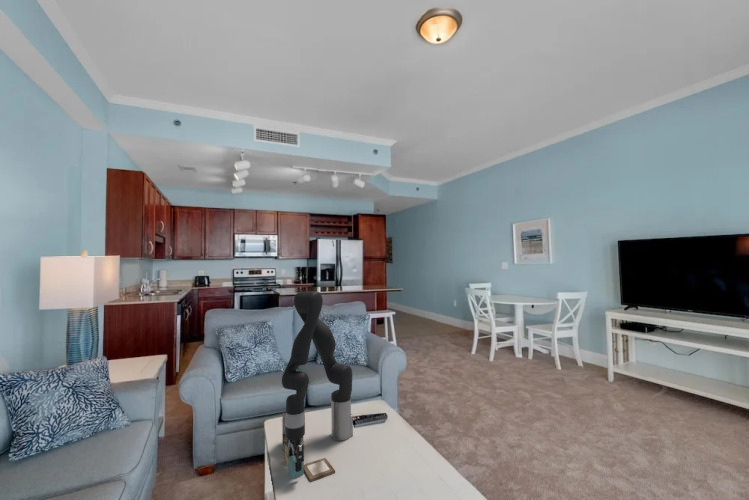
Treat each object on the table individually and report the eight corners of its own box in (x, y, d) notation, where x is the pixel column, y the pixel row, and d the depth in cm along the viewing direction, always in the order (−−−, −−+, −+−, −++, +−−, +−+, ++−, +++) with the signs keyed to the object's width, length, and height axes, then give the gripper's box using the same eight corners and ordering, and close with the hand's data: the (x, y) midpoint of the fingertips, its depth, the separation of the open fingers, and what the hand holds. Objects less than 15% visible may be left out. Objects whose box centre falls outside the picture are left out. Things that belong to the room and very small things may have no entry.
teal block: (299, 468, 133) (299, 453, 134) (303, 474, 130) (303, 458, 130) (288, 472, 131) (288, 456, 131) (292, 478, 127) (292, 462, 127)
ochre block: (295, 456, 142) (295, 442, 142) (298, 462, 138) (298, 447, 138) (284, 460, 139) (284, 445, 140) (288, 465, 135) (287, 450, 136)
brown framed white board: (325, 460, 139) (325, 457, 139) (335, 473, 130) (335, 470, 130) (301, 468, 134) (301, 465, 134) (310, 482, 125) (310, 479, 125)
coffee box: (295, 452, 145) (295, 414, 145) (281, 450, 146) (281, 413, 147) (304, 440, 154) (303, 405, 154) (291, 439, 155) (290, 404, 156)
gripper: (310, 428, 127) (310, 472, 126) (298, 413, 139) (298, 453, 138) (291, 433, 123) (290, 478, 122) (280, 418, 135) (280, 459, 134)
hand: (295, 465), depth 130 cm, fingers open, 8 cm apart
